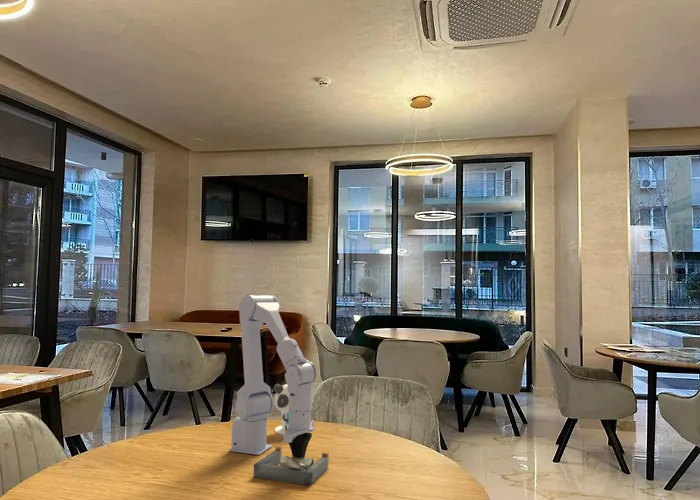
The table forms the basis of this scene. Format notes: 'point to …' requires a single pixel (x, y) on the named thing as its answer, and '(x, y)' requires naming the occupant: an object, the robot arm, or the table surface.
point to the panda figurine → (282, 406)
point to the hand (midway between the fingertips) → (298, 462)
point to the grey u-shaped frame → (289, 469)
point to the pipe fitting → (296, 462)
